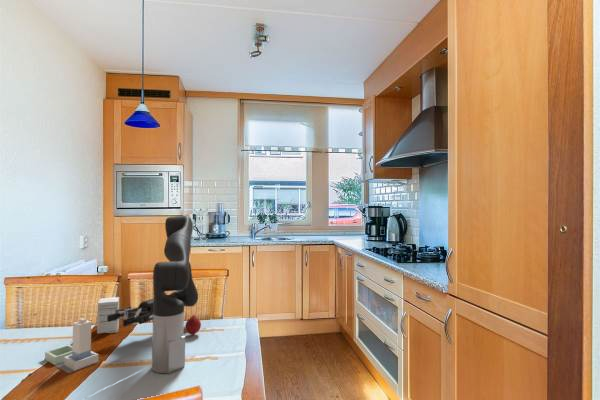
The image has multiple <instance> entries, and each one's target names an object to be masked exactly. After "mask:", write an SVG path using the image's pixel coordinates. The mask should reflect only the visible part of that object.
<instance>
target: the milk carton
mask: <svg viewBox="0 0 600 400" xmlns="http://www.w3.org/2000/svg"><path fill="white" fill-rule="evenodd" d="M71 346H72V359H73V360H75V361H78V360H81V359H84V358H87V357H90V355H91V351H92V350H91V349H92V321H91V320H88V319H86V318H83V317H79V318H78V320H77V321H75V322H73V323H72V343H71Z"/></svg>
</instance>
